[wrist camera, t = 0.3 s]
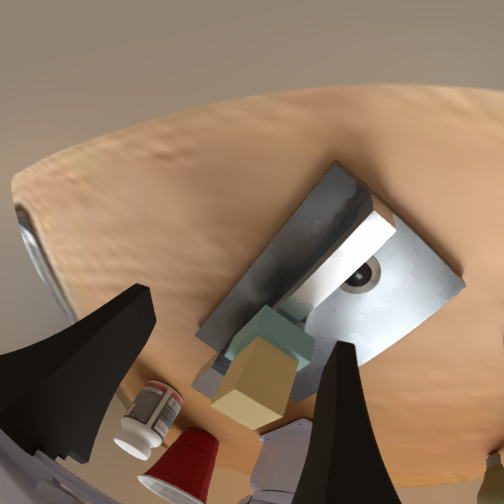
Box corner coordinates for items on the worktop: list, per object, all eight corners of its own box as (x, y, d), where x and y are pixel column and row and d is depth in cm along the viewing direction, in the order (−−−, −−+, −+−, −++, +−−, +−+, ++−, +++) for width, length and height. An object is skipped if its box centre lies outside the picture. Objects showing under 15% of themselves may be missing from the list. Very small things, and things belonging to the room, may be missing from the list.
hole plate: (300, 394, 28) (297, 403, 27) (199, 328, 28) (193, 336, 27) (462, 277, 18) (466, 287, 17) (335, 160, 17) (334, 164, 16)
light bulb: (492, 444, 25) (495, 506, 17) (515, 444, 24) (520, 501, 15) (469, 461, 28) (468, 518, 19) (492, 460, 27) (494, 514, 18)
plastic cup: (228, 429, 37) (194, 501, 27) (239, 458, 42) (213, 518, 32) (161, 409, 40) (123, 470, 30) (181, 441, 45) (151, 494, 35)
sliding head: (288, 341, 23) (255, 435, 16) (246, 312, 23) (198, 403, 16) (321, 314, 21) (296, 418, 14) (276, 280, 21) (231, 379, 14)
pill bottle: (143, 387, 38) (107, 439, 30) (152, 372, 35) (111, 431, 27) (177, 409, 38) (145, 464, 30) (190, 397, 35) (155, 459, 27)
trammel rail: (247, 371, 27) (228, 413, 23) (211, 347, 27) (188, 387, 23) (410, 228, 16) (424, 273, 12) (361, 184, 16) (362, 217, 12)
